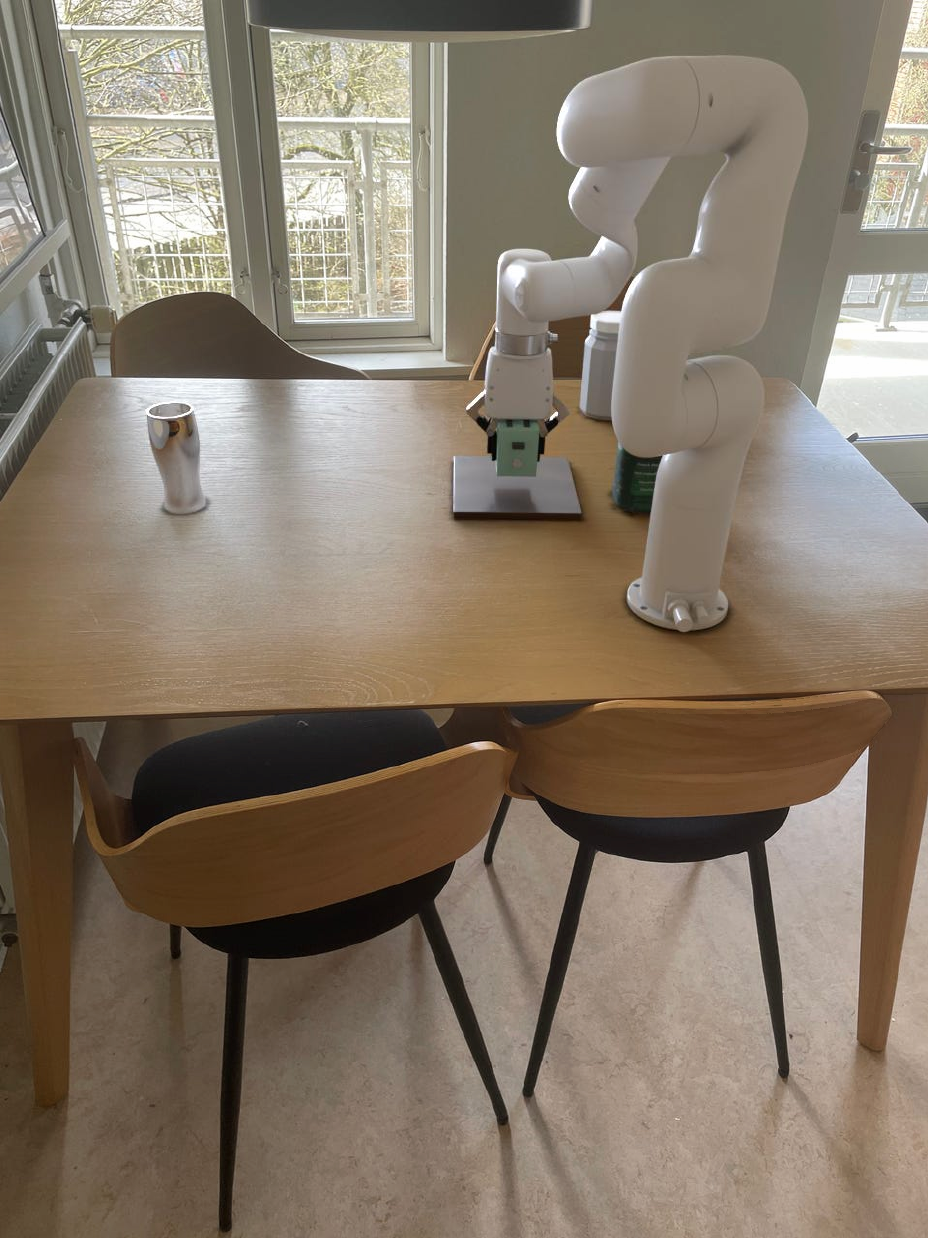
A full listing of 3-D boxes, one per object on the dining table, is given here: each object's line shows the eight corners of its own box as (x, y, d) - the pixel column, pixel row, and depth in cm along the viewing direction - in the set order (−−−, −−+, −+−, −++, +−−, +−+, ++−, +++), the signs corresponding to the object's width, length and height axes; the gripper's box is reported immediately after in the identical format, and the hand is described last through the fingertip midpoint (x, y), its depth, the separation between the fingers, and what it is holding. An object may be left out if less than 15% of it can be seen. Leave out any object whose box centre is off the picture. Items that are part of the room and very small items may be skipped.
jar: (573, 404, 179) (581, 309, 170) (622, 403, 180) (633, 308, 171) (584, 422, 171) (593, 324, 162) (636, 421, 172) (647, 323, 163)
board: (581, 520, 138) (581, 513, 137) (453, 518, 137) (453, 511, 137) (567, 463, 155) (567, 457, 155) (453, 462, 155) (454, 455, 154)
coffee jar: (668, 516, 139) (686, 396, 129) (615, 515, 139) (630, 395, 129) (658, 489, 147) (675, 374, 137) (608, 488, 147) (621, 373, 137)
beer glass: (218, 505, 140) (204, 409, 132) (178, 520, 136) (161, 422, 127) (192, 491, 144) (177, 397, 136) (152, 505, 139) (134, 409, 131)
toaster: (494, 452, 148) (496, 406, 144) (532, 452, 148) (534, 407, 144) (496, 479, 139) (498, 432, 135) (536, 480, 139) (539, 432, 135)
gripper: (578, 335, 137) (568, 449, 147) (461, 333, 137) (459, 447, 146) (583, 350, 131) (573, 468, 140) (461, 348, 130) (459, 467, 140)
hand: (515, 456), depth 143 cm, fingers closed on toaster, 6 cm apart
